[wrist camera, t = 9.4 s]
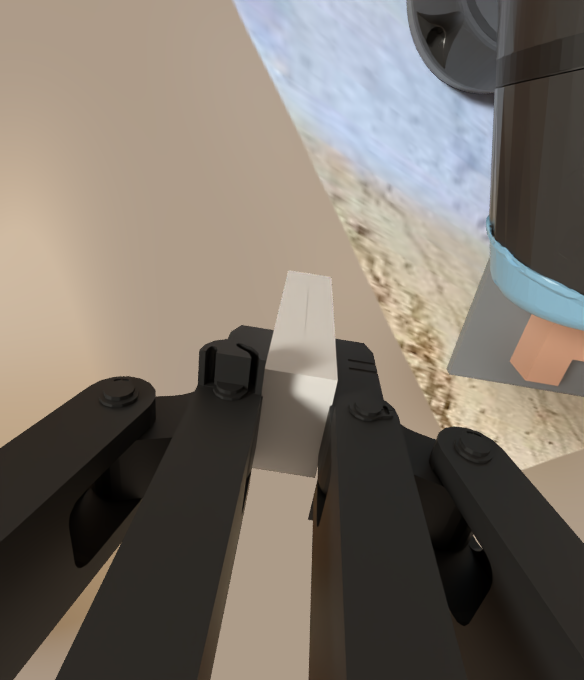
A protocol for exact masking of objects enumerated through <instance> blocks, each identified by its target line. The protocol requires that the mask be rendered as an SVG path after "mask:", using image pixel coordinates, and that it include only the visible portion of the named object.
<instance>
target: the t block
mask: <svg viewBox="0 0 584 680" xmlns="http://www.w3.org/2000/svg"><path fill="white" fill-rule="evenodd" d="M572 360H578V361H584V331H582V330H578V329H573V328H569V327H566V326H562V325H559V324H556V323H553V322H550V321H547V320H545V319H542V318H539V317H537V316H535V315H533V314H531V317H530V319H529V321H528V323H527V325H526V327H525V329H524V332H523V334H522V336H521V338H520V340H519V342H518V344H517V346H516V349H515V351H514V353H513V355H512V357H511V359H510V362H511V364H512V365H513V366H514V367H515V369H516V370H517V371H518V372H519V374H520V375H521V376H522V377H523V378H524V380H525V381H531V382H537V383H543V384H549V385H555V386H558V385H559V383H560V381H561V379H562V378H563V376H564V374H565V372H566V370H567V368H568V367H569V365H570V363H571V361H572Z"/></svg>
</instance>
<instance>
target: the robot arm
mask: <svg viewBox="0 0 584 680" xmlns="http://www.w3.org/2000/svg"><path fill="white" fill-rule="evenodd" d="M407 15H408V22H409V27H410V31H411V35H412V38H413V41H414V44H415V46H416V49H417V51H418V53H419V55H420V56H421V58H422V60H423V61H424V63H425V64H426V65H427V67H428V68H429V69H430V70H431V71H432V72H433V73H434V74H435V75H436V76H437V77H438V78H439V79H441V80H442V81H443V82H445V83H446V84H448V85H450V86H452V87H454V88H456V89H459V90H462V91H465V92H470V93H477V94H490V93H495V95H494V118H493V140H492V163H491V186H490V209H489V216H488V217H487V220H486V230H487V235H488V237H489V239H490V272H491V276H492V279H493V281H494V283H495V284H496V285H497V286H498V287H499V289H500V290H501V292H502V294H503V295H504V296H505V297H506V298H507V299H508V300H510V301H511V302H512V303H514V304H515V305H517V306H518V307H520V308H521V309H523V310H525V311H527V312H529V313H531V314H533V315H535V316H537V317H539V318H542V319H545V320H547V321H550V322H553V323H556V324H559V325H562V326H566V327H569V328H573V329H578V330H582V331H584V0H407ZM317 467H318V480H317V484H316V488H315V493H314V497H313V501H312V505H311V510H310V514H309V518H308V519H309V520H313V542H312V578H311V580H312V581H311V613H310V614H311V615H310V652H309V680H584V543H583V542H582V541H581V540H580V538H578V536H577V535H576V534H575V533H574V531H573V530H572V529H571V528H570V527H569V526H568V525H567V523H566V522H565V521H564V520H563V519H562V518H561V517H560V515H559V514H558V513H557V512H556V511H555V509H554V508H553V507H552V506H551V505H550V504H549V502H548V501H547V500H546V499H545V498H544V497H543V496H542V494H541V493H540V492H539V491H538V490H537V489H536V487H535V486H534V485H533V484H532V483H531V482H530V480H529V479H528V478H527V477H526V476H525V475H524V474H523V472H522V471H521V470H520V469H519V468H518V467H517V465H516V464H515V463H514V462H513V461H512V460H511V458H510V457H509V456H508V455H507V454H506V453H505V451H504V450H503V449H502V448H501V447H500V446H498V445H497V444H496V443H495V442H494V441H493V440H491V439H490V438H488V437H486V436H485V435H483V434H481V433H479V432H477V431H474V430H471V429H468V428H462V427H449V428H445V429H443V430H442V431H441V432H439V434H438V436H437V439H436V440H435V439H432V438H429V437H427V436H424V435H422V434H419V433H416V432H414V431H412V430H410V429H407V428H405V427H404V426H402V425H401V424H400V421H399V417H398V415H397V413H396V411H395V409H394V408H393V407H392V406H391V405H390V404H389V403H387V402H386V401H384V400H383V395H382V391H381V386H380V382H379V378H378V374H377V369H376V366H375V360H374V356H373V353H372V352H371V351H370V350H369V349H368V347H367V346H366V345H365V344H364V343H359V342H352V341H346V340H340V339H335V328H334V311H333V295H332V279H331V277H328V276H321V275H315V274H309V273H302V272H297V271H290V270H288V274H287V278H286V283H285V287H284V291H283V295H282V299H281V303H280V307H279V311H278V316H277V320H276V324H275V328H274V330H268V329H263V328H257V327H250V326H243V325H241V326H240V327H238V328H236V329H235V330H233V331H232V332H231V333H230V335H229V337H228V339H225V340H217V341H213V342H211V343H208V344H206V345H204V346H203V347H202V348H201V349H200V351H199V372H198V386H197V388H196V390H195V391H194V392H191V393H188V394H184V395H176V396H159V397H155V389H154V388H153V386H152V385H151V384H150V383H149V382H146V381H144V380H143V379H140V378H135V377H129V376H127V377H124V376H123V377H112V378H109V379H105V380H101V381H99V382H97V383H95V384H93V385H91V386H89V387H88V388H86V389H85V390H83V391H82V392H80V393H79V394H78V395H76V396H75V397H73V398H72V399H70V400H69V401H67V402H66V403H65V404H63V405H62V406H60V407H59V408H57V409H56V410H54V411H53V412H52V413H50V414H49V415H47V416H46V417H44V418H43V419H42V420H40V421H39V422H37V423H36V424H34V425H33V426H31V427H30V428H29V429H27V430H26V431H24V432H23V433H21V434H20V435H19V436H17V437H16V438H14V439H13V440H11V441H10V442H8V443H7V444H6V445H4V446H3V447H2V448H0V680H13V679H14V678H15V677H16V676H17V674H18V673H19V672H20V670H21V669H22V668H23V667H24V665H25V664H26V663H27V661H28V660H29V659H30V658H31V656H32V655H33V654H34V652H35V651H36V650H37V649H38V648H39V646H40V645H41V644H42V642H43V641H44V640H45V639H46V637H47V636H48V635H49V634H50V632H51V631H52V630H53V629H54V627H55V626H56V625H57V623H58V622H59V621H60V620H61V618H62V617H63V616H64V615H65V613H66V612H67V611H68V609H69V608H70V607H71V606H72V604H73V603H74V602H75V601H76V599H77V598H78V597H79V596H80V594H81V593H82V592H83V590H84V589H85V588H86V587H87V585H88V584H89V583H90V582H91V580H92V579H93V578H94V576H95V575H96V574H97V573H98V571H99V570H100V569H101V568H102V566H103V565H104V564H105V563H106V561H107V560H108V559H109V558H110V556H111V555H112V554H113V552H114V551H115V550H116V549H117V547H118V546H119V544H121V545H120V547H119V549H118V551H117V553H116V555H115V557H114V559H113V562H112V564H111V565H110V568H109V570H108V572H107V574H106V576H105V578H104V580H103V582H102V584H101V586H100V588H99V590H98V592H97V594H96V596H95V598H94V601H93V603H92V605H91V607H90V609H89V611H88V613H87V615H86V617H85V619H84V621H83V623H82V625H81V627H80V630H79V632H78V634H77V636H76V638H75V640H74V642H73V644H72V646H71V648H70V650H69V652H68V654H67V656H66V658H65V660H64V663H63V665H62V667H61V669H60V671H59V673H58V675H57V677H56V679H55V680H210V678H211V673H212V668H213V663H214V658H215V653H216V648H217V643H218V638H219V633H220V628H221V623H222V618H223V614H224V608H225V604H226V599H227V594H228V589H229V584H230V579H231V574H232V568H233V564H234V559H235V554H236V549H237V544H238V539H239V534H240V529H241V524H242V519H243V515H244V510H245V505H246V500H247V495H248V490H249V484H250V476H251V469H252V468H256V469H262V470H269V471H275V472H281V473H288V474H294V475H300V476H307V477H313V478H315V475H316V471H317ZM473 534H474V535H475V537H476V539H477V540H478V542H479V543H480V545H481V546H482V548H483V549H482V548H481V547H480V546H479V544H478V543H477V542H476V540H475V538H474V537H473ZM121 542H122V543H121Z"/></svg>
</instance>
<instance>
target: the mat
mask: <svg viewBox="0 0 584 680" xmlns="http://www.w3.org/2000/svg"><path fill="white" fill-rule="evenodd" d="M530 317H531V313H529V312H527V311H525V310H523V309H521V308H520V307H518V306H517V305H515V304H514V303H512V302H511V301H510V300H508V299H507V298H506V297H505V296H504V295H503V294H502V292H501V290H500V289H499V287H498V286H497V285H496V284H495V283H494V281H493V279H492V276H491V272H490V258H489V260H488V263H487V266H486V268H485V271H484V273H483V276H482V279H481V281H480V284H479V286H478V289H477V292H476V294H475V297H474V299H473V302H472V304H471V307H470V310H469V312H468V315H467V317H466V320H465V323H464V325H463V328H462V330H461V333H460V336H459V338H458V341H457V343H456V346H455V349H454V351H453V354H452V356H451V359H450V362H449V364H448V367H447V371H448V373H449V374H451V375H457V376H463V377H469V378H475V379H481V380H487V381H493V382H499V383H505V384H511V385H517V386H523V387H529V388H535V389H541V390H547V391H553V392H559V393H565V394H571V395H577V396H583V397H584V361H578V360H572V361H571V363H570V365H569V367H568V368H567V370H566V372H565V374H564V376H563V378H562V379H561V381H560V383H559V385H558V386H555V385H549V384H543V383H537V382H531V381H525V380H524V378H523V377H522V376H521V375H520V374H519V372H518V371H517V370H516V369H515V367H514V366H513V365H512V364H511V362H510V359H511V357H512V355H513V353H514V351H515V349H516V346H517V344H518V342H519V340H520V338H521V336H522V334H523V332H524V329H525V327H526V325H527V323H528V321H529V319H530Z"/></svg>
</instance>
